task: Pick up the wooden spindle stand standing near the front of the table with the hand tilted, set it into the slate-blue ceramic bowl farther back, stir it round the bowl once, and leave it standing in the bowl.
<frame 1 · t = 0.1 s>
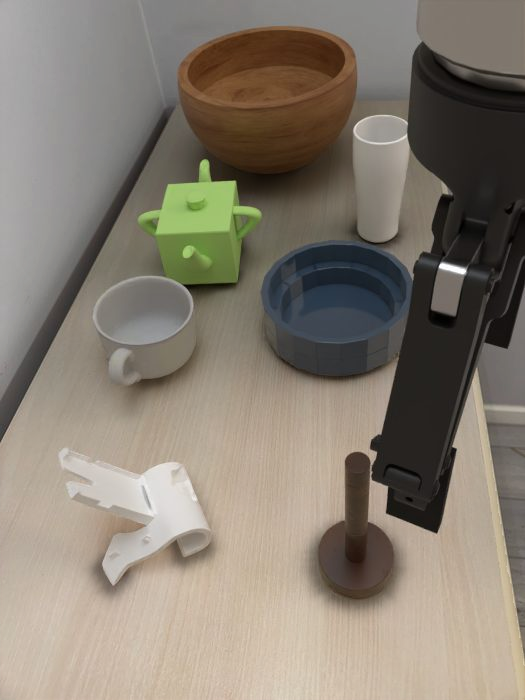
hand: (453, 419, 38), 25 cm above the table, tool pointing down, fingers open, 13 cm apart
wooden spindle stand: (355, 563, 59), on the table
plastic part: (154, 532, 63), on the table
mixing bowl: (337, 325, 78), on the table
teacup: (150, 367, 77), on the table
bowl: (274, 161, 104), on the table
teapot: (208, 264, 88), on the table
drinking glass: (377, 233, 90), on the table
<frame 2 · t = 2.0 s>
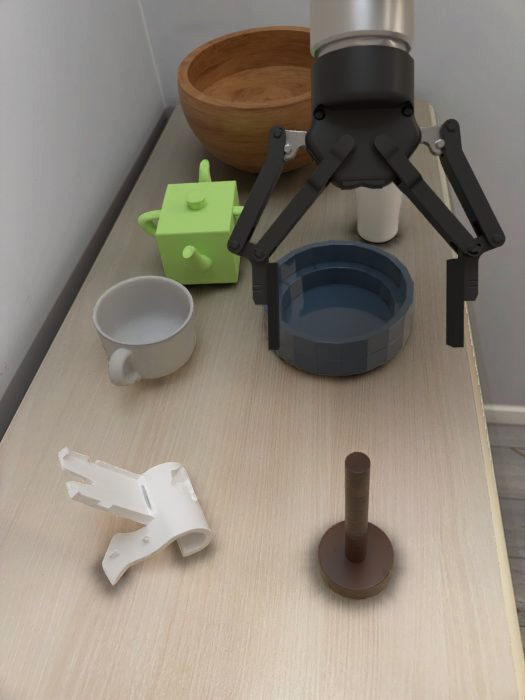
hand: (363, 347, 51), 18 cm above the table, tool tilted 40°, fingers open, 13 cm apart
nothing on the table moved.
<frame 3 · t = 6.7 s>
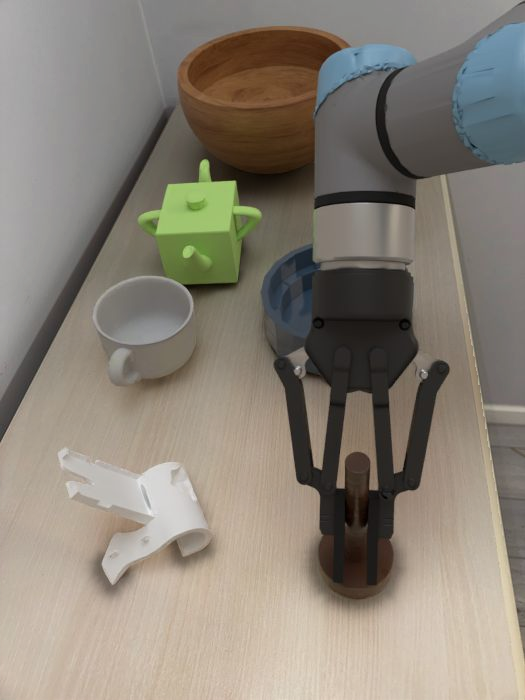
hand: (355, 576, 52), 6 cm above the table, tool tilted 45°, fingers closed on wooden spindle stand, 2 cm apart
wooden spindle stand: (355, 563, 59), on the table, touching gripper
everything else where it was.
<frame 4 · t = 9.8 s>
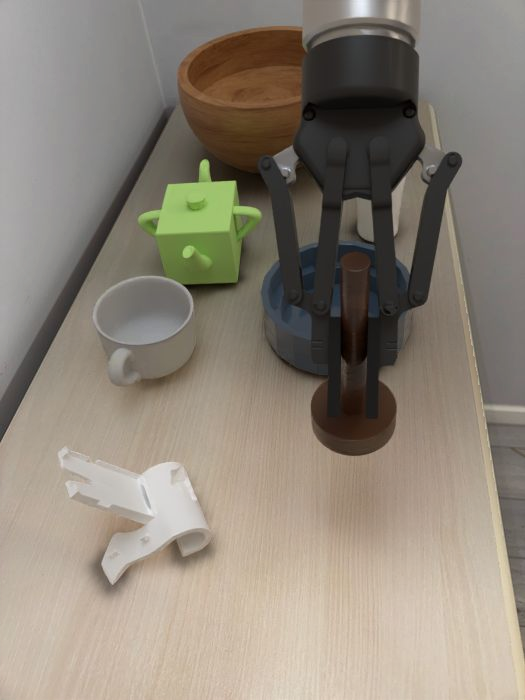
hand: (352, 414, 45), 20 cm above the table, tool tilted 45°, fingers closed on wooden spindle stand, 2 cm apart
wooden spindle stand: (353, 421, 52), point 14 cm above the table, touching gripper
everything else where it was.
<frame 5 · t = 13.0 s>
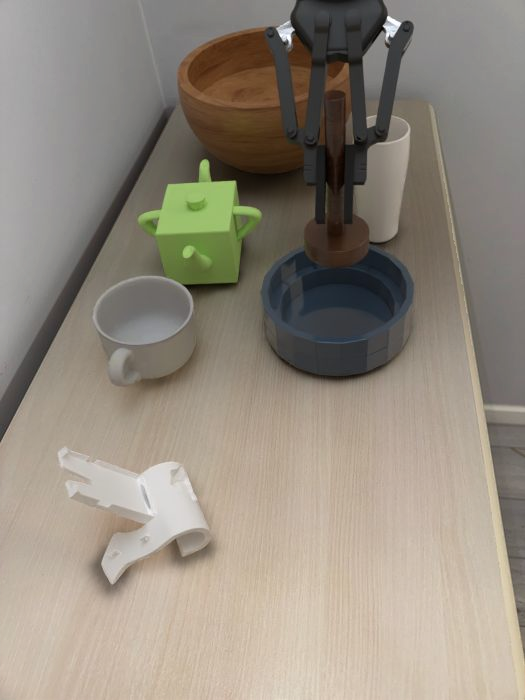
hand: (334, 221, 60), 19 cm above the table, tool tilted 45°, fingers closed on wooden spindle stand, 2 cm apart
wooden spindle stand: (336, 247, 67), point 13 cm above the table, touching gripper
everything else where it was.
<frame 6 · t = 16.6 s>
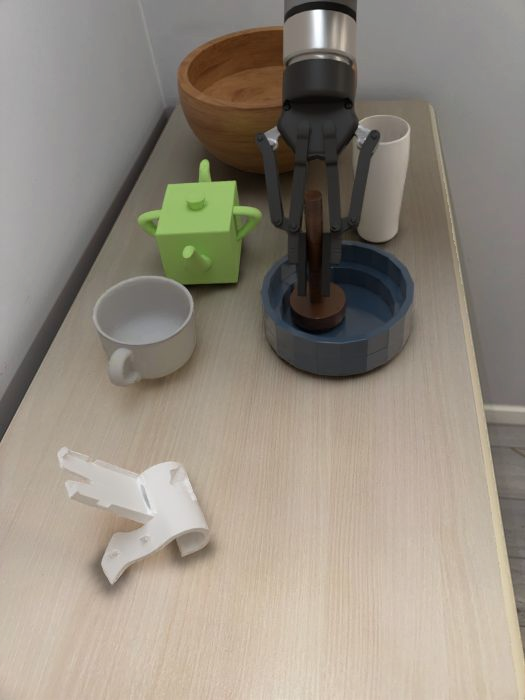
hand: (313, 295, 71), 8 cm above the table, tool tilted 45°, fingers closed on wooden spindle stand, 2 cm apart
wooden spindle stand: (317, 311, 78), point 2 cm above the table, touching gripper
everything else where it was.
when the fingers open (7 cm above the table, at t = 19.4 s): wooden spindle stand stays where it is, resting on mixing bowl.
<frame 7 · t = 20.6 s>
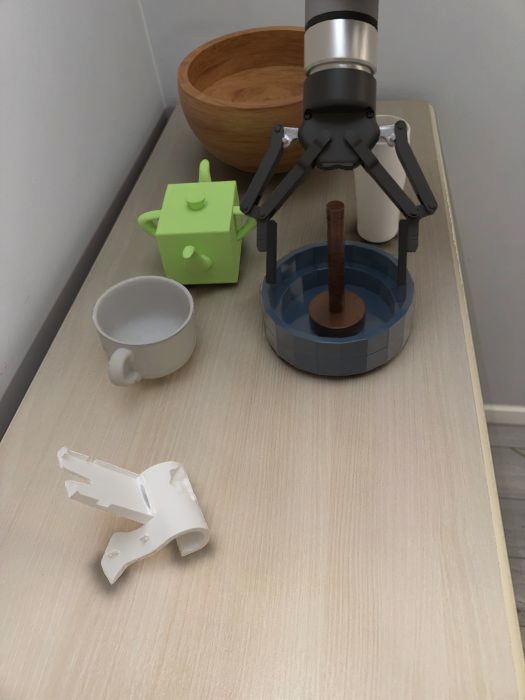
hand: (335, 284, 71), 9 cm above the table, tool tilted 45°, fingers open, 13 cm apart
wooden spindle stand: (337, 320, 78), point 1 cm above the table, touching mixing bowl
everything else where it was.
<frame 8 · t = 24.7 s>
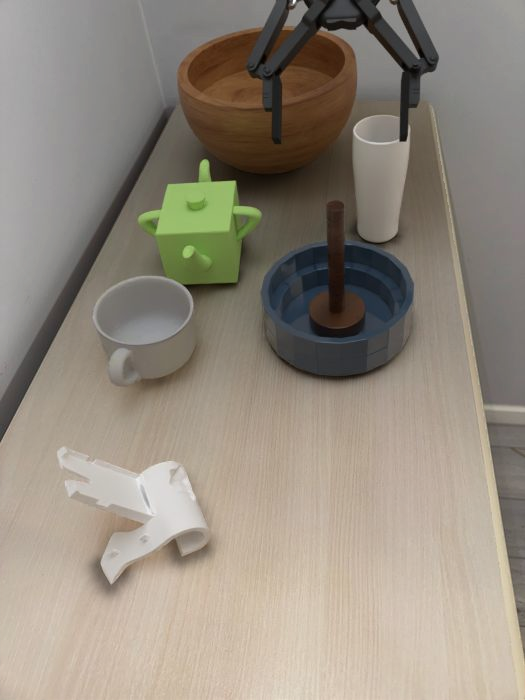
hand: (339, 140, 73), 18 cm above the table, tool tilted 45°, fingers open, 13 cm apart
nothing on the table moved.
at the end: wooden spindle stand inside the target area in the mixing bowl (0.1 cm from its centre), point 0.8 cm above the mixing bowl's base; wooden spindle stand tilted 0°; the gripper is holding nothing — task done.
